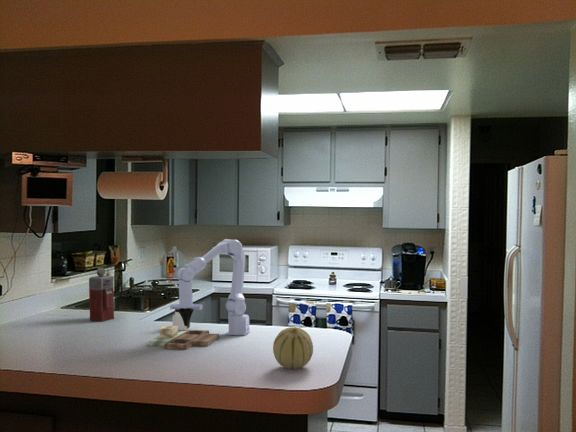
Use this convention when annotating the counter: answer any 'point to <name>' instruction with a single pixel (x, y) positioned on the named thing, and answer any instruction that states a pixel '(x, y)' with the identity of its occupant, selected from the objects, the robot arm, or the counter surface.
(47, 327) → the counter surface
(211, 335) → the trap board
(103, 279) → the red liquid decanter
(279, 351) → the cantaloupe
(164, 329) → the birch block
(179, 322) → the medicine bottle
